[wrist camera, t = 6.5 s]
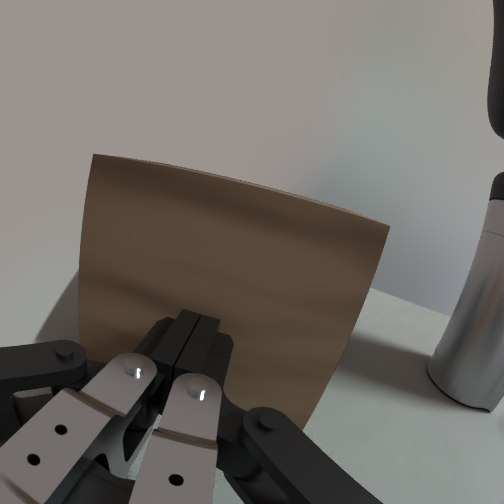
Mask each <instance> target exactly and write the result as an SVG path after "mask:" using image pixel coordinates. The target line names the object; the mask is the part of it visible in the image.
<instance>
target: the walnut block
mask: <svg viewBox="0 0 504 504" xmlns="http://www.w3.org/2000/svg"><path fill="white" fill-rule="evenodd" d="M389 229H390V226H388V225H386V224H383V223H381V222H378V221H376V220H373V219H370V218H368V217H365V216H362V215H359V214H357V213H354V212H351V211H349V210H346V209H343V208H340V207H337V206H333V205H330V204H327V203H323V202H320V201H316V200H313V199H310V198H306V197H303V196H299V195H295V194H292V193H288V192H284V191H281V190H277V189H273V188H269V187H265V186H262V185H258V184H253V183H250V182H246V181H242V180H237V179H233V178H229V177H224V176H220V175H216V174H212V173H206V172H202V171H198V170H193V169H188V168H183V167H178V166H173V165H169V164H163V163H157V162H151V161H144V160H137V159H130V158H123V157H116V156H108V155H99V154H93V158H92V164H91V169H90V175H89V180H88V186H87V192H86V199H85V206H84V214H83V223H82V233H81V244H80V259H79V286H78V310H79V337H80V345H81V346H82V347H83V348H84V350H85V351H86V356H87V359H88V360H93V361H98V362H104V363H109V362H110V361H111V360H112V359H114V358H115V357H116V356H118V355H120V354H123V353H132V352H133V351H134V349H135V348H136V347H137V346H138V344H139V343H140V342H141V341H142V339H143V338H144V337H145V336H146V335H147V333H148V332H149V331H150V329H152V327H153V326H154V324H155V323H156V322H157V321H158V320H161V319H163V318H165V317H169V318H173V319H176V318H177V317H178V315H179V314H180V312H181V311H182V310H183V309H185V310H189V311H192V312H196V313H199V314H201V316H202V315H206V316H210V317H213V318H217V319H220V326H219V330H218V332H221V333H224V334H228V335H231V338H232V340H233V342H234V346H233V350H232V354H231V358H230V362H229V366H228V370H227V374H226V378H225V382H224V387H223V389H224V393H225V395H226V397H227V398H228V399H229V400H230V401H231V402H232V403H233V404H234V405H236V406H238V407H239V408H241V409H244V410H246V411H249V410H250V409H252V408H256V407H270V408H274V409H276V410H279V411H281V412H282V413H284V414H285V415H286V416H287V417H289V418H290V420H291V421H292V422H293V423H294V424H295V425H296V426H297V427H298V428H299V429H300V430H301V431H302V430H303V429H304V427H305V425H306V423H307V422H308V420H309V418H310V416H311V415H312V413H313V411H314V409H315V407H316V405H317V404H318V402H319V400H320V398H321V396H322V394H323V392H324V390H325V388H326V386H327V384H328V382H329V380H330V378H331V376H332V374H333V372H334V370H335V368H336V366H337V364H338V362H339V360H340V358H341V356H342V353H343V351H344V349H345V347H346V345H347V342H348V340H349V338H350V335H351V333H352V331H353V329H354V326H355V324H356V321H357V319H358V317H359V314H360V312H361V309H362V307H363V304H364V302H365V299H366V296H367V294H368V291H369V288H370V285H371V283H372V280H373V277H374V275H375V272H376V269H377V266H378V263H379V260H380V257H381V254H382V251H383V248H384V245H385V242H386V239H387V235H388V232H389Z"/></svg>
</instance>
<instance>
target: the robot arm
mask: <svg viewBox="0 0 504 504" xmlns="http://www.w3.org/2000/svg"><path fill="white" fill-rule="evenodd" d="M493 7H494V36H493V50H492V59H491V67H490V77H489V85H488V97H487V98H488V99H487V105H488V116H489V121H490V123H491V126H492V128H493V130H494V132H495V133H496V134H497V135H498V136H500V137H501V138H503V139H504V0H493ZM219 326H220V319H217V318H213V317H210V316H206V315H202V316H201V314H199V313H196V312H192V311H189V310H185V309H183V310H182V311H181V312H180V314H179V315H178V317H177V318H176V319H173V318H169V317H165V318H163V319H161V320H158V321H157V322H156V323H155V324H154V326H153V327H152V329H150V331H149V332H148V333H147V335H146V336H145V337H144V338H143V339H142V341H141V342H140V343H139V344H138V346H137V347H136V348H135V349H134V351H133V352H132V353H123V354H120V355H118V356H116V357H115V358H114V359H112V360H111V361H110V362H109V363H104V362H98V361H93V360H88V359H87V356H86V351H85V350H84V348H83V347H82V346H81V345H79V344H77V343H75V342H72V341H67V340H59V341H52V342H44V343H37V344H28V345H20V346H11V347H1V348H0V504H212V498H213V489H214V479H215V470H216V468H218V469H220V470H222V471H223V473H224V476H225V478H226V480H227V481H228V482H229V484H230V485H231V487H232V488H233V489H234V491H235V492H236V493H237V495H238V496H239V497H240V498H241V500H242V501H243V502H244V504H383V503H382V502H381V501H379V500H378V499H377V498H376V497H374V496H373V495H372V494H371V493H370V492H368V491H367V490H366V489H365V488H364V487H362V486H361V485H360V484H359V483H358V482H356V481H355V480H354V479H353V478H352V477H351V476H350V475H348V474H347V473H346V472H345V471H344V470H343V469H342V468H341V467H339V466H338V465H337V464H336V463H335V462H334V461H333V460H332V459H331V458H330V457H328V456H327V455H326V454H325V453H324V452H323V451H322V450H321V449H320V448H319V447H318V446H317V445H316V444H315V443H314V442H313V441H312V440H311V439H310V438H309V437H308V436H306V435H305V434H304V433H303V432H302V431H301V430H300V429H299V428H298V427H297V426H296V425H295V424H294V423H293V422H292V421H291V420H290V418H289V417H287V416H286V415H285V414H284V413H282V412H281V411H279V410H276V409H274V408H270V407H256V408H252V409H250V410H249V411H246V410H244V409H241V408H239V407H238V406H236V405H234V404H233V403H232V402H231V401H230V400H229V399H228V398H227V397H226V395H225V393H224V389H223V387H224V382H225V378H226V374H227V370H228V366H229V362H230V358H231V354H232V350H233V346H234V342H233V340H232V338H231V335H228V334H224V333H221V332H218V330H219ZM428 372H429V375H430V377H431V378H432V380H433V381H434V382H435V383H436V385H437V386H438V387H439V388H440V389H441V390H443V391H444V392H445V393H446V394H448V395H449V396H450V397H452V398H453V399H455V400H457V401H459V402H461V403H463V404H466V405H468V406H472V407H478V408H486V409H488V410H490V411H493V410H494V409H495V408H496V406H497V405H498V403H499V402H500V400H501V399H502V397H503V396H504V172H502V173H500V174H498V175H497V176H496V177H495V178H494V181H493V184H492V188H491V193H490V199H489V203H488V209H487V212H486V217H485V221H484V225H483V229H482V232H481V236H480V240H479V243H478V246H477V250H476V253H475V256H474V259H473V262H472V265H471V268H470V271H469V274H468V277H467V280H466V282H465V285H464V288H463V290H462V293H461V295H460V298H459V300H458V303H457V305H456V307H455V310H454V312H453V314H452V317H451V319H450V321H449V323H448V325H447V328H446V330H445V332H444V334H443V336H442V338H441V340H440V342H439V344H438V345H437V347H436V349H435V352H434V354H433V356H432V358H431V359H430V361H429V363H428ZM44 387H51V391H52V393H50V394H45V395H39V396H33V397H27V398H17V397H15V396H14V395H13V393H15V392H18V391H25V390H31V389H38V388H44ZM158 414H160V415H162V417H161V420H160V423H159V426H158V429H154V430H153V424H154V422H155V420H156V418H157V416H158ZM152 430H153V432H152ZM151 432H152V435H151V437H150V440H149V443H148V446H147V449H146V452H145V455H144V458H143V461H142V464H141V467H140V470H139V473H138V476H137V479H136V481H135V480H130V479H127V475H128V472H129V469H130V467H131V465H132V464H133V462H134V460H135V459H136V457H137V455H138V454H139V452H140V450H141V449H142V447H143V445H144V444H145V442H146V440H147V439H148V437H149V435H150V434H151Z"/></svg>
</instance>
